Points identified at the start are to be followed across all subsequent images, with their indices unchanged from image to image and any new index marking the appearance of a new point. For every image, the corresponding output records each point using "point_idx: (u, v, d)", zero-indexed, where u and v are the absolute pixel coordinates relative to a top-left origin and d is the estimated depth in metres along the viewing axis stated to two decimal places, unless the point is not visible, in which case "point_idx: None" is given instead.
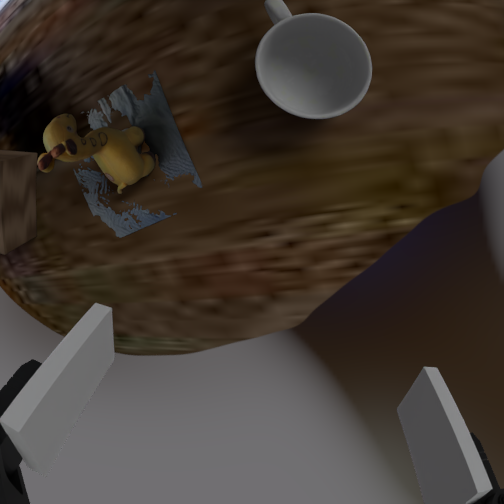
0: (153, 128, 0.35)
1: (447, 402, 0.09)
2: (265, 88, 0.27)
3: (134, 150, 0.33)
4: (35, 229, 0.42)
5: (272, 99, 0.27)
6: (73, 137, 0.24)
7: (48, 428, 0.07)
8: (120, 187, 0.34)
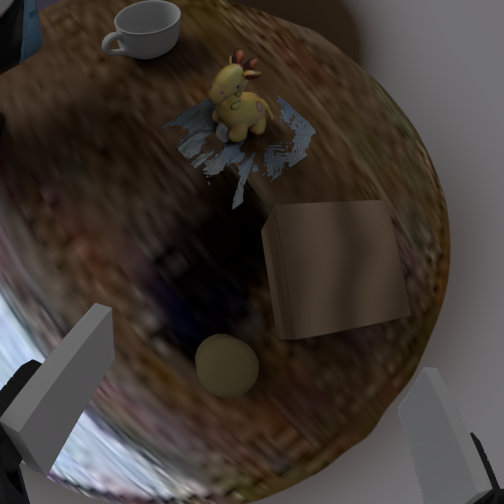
0: (211, 115, 0.43)
1: (447, 402, 0.09)
2: (167, 27, 0.38)
3: None
4: None
5: (173, 23, 0.38)
6: None
7: (48, 428, 0.07)
8: (265, 103, 0.39)
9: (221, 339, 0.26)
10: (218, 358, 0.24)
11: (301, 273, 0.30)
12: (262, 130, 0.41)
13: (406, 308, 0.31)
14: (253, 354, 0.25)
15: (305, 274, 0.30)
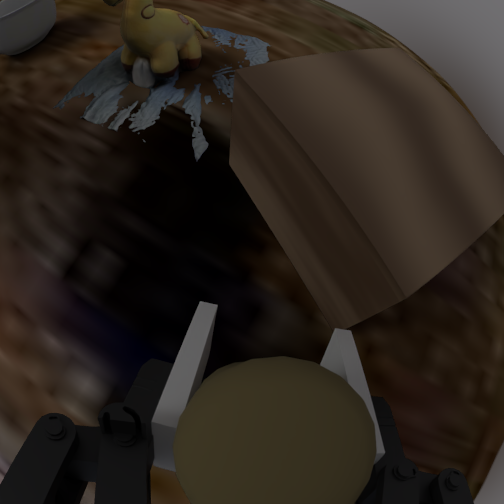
0: (120, 67, 0.25)
1: (351, 361, 0.11)
2: None
3: None
4: None
5: None
6: None
7: None
8: (190, 18, 0.23)
9: (221, 376, 0.07)
10: (234, 448, 0.06)
11: (345, 156, 0.12)
12: (198, 52, 0.24)
13: None
14: (342, 381, 0.07)
15: (353, 156, 0.13)
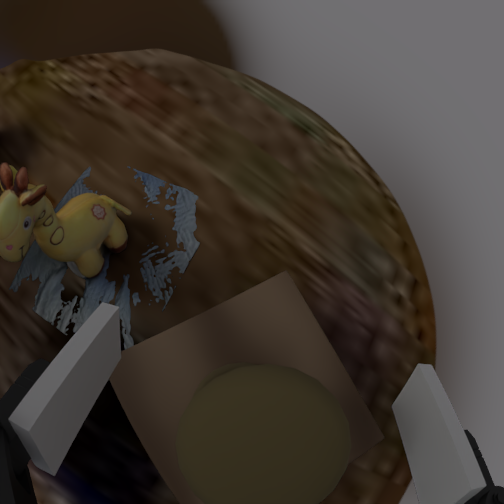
0: None
1: (441, 399, 0.10)
2: None
3: None
4: None
5: None
6: None
7: (57, 427, 0.07)
8: (108, 199, 0.26)
9: (214, 383, 0.08)
10: (226, 443, 0.07)
11: (174, 455, 0.15)
12: (122, 239, 0.27)
13: (374, 432, 0.17)
14: (318, 385, 0.08)
15: None
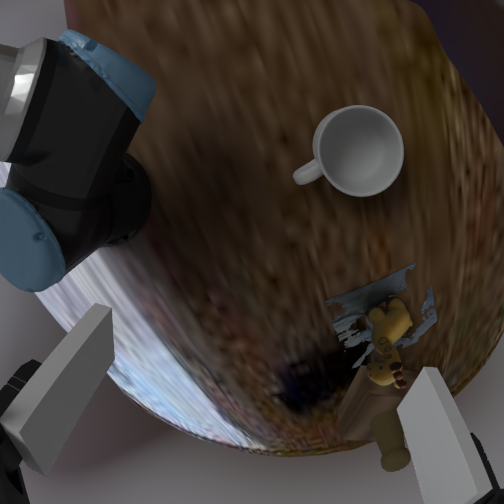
0: (369, 299, 0.49)
1: (447, 402, 0.09)
2: (379, 190, 0.36)
3: (389, 315, 0.46)
4: (413, 371, 0.54)
5: (388, 185, 0.35)
6: (387, 364, 0.39)
7: (48, 428, 0.07)
8: (411, 324, 0.46)
9: (402, 454, 0.39)
10: (396, 464, 0.39)
11: (360, 421, 0.49)
12: None
13: None
14: None
15: (362, 422, 0.49)
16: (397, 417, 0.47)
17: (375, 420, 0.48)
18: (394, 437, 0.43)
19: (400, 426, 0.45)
